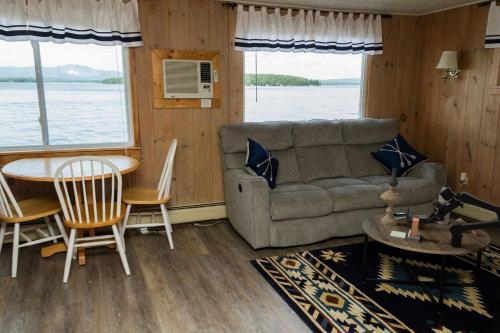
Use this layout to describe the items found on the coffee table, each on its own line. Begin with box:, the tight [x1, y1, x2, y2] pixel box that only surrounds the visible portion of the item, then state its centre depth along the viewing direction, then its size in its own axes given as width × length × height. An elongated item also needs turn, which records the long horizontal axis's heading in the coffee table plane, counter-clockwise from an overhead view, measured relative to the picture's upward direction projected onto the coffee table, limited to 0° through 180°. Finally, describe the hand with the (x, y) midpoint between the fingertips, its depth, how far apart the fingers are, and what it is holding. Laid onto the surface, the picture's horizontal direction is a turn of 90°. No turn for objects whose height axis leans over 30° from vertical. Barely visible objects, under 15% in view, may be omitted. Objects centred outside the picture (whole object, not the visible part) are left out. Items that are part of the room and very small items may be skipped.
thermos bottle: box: [436, 184, 451, 226], centre depth 274 cm, size 8×8×28 cm
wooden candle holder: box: [380, 167, 404, 227], centre depth 269 cm, size 15×15×40 cm
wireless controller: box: [405, 200, 435, 224], centre depth 278 cm, size 20×14×17 cm
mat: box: [389, 230, 407, 240], centre depth 250 cm, size 9×10×1 cm
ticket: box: [410, 218, 420, 237], centre depth 244 cm, size 4×6×12 cm, turn 153°
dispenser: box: [406, 229, 421, 243], centre depth 245 cm, size 7×13×3 cm, turn 153°
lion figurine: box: [455, 218, 480, 237], centre depth 256 cm, size 15×5×9 cm, turn 50°
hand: (428, 220), depth 240 cm, fingers open, 9 cm apart
